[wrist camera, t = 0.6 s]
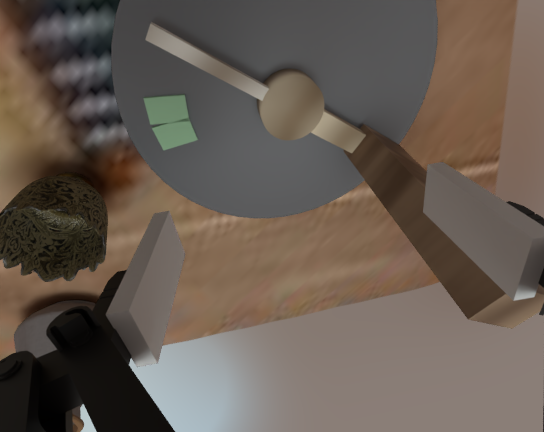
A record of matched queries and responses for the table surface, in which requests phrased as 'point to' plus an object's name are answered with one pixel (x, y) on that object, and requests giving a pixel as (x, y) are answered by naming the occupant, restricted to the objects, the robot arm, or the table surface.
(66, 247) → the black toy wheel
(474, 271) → the brown bar with rod
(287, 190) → the dial plate
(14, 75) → the table surface
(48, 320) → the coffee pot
